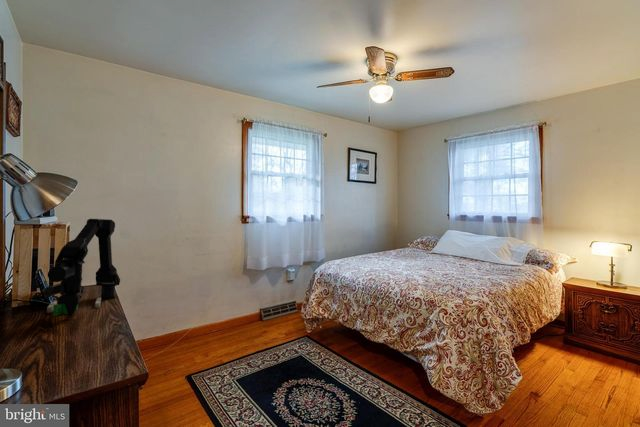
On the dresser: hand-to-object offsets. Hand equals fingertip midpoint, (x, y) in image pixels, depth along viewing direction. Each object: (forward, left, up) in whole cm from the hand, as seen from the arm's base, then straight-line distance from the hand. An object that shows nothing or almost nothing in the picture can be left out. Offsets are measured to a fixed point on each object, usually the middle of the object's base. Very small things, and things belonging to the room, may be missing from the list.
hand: (70, 316), depth 119 cm
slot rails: (-17, 0, -1) cm, 18 cm away
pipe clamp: (-10, -2, -1) cm, 10 cm away
